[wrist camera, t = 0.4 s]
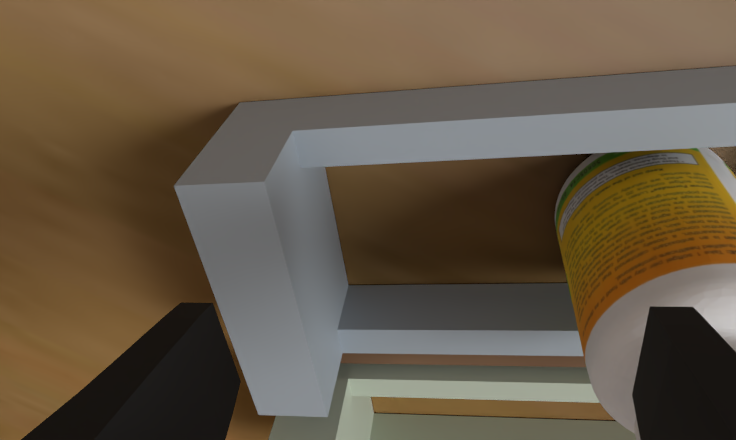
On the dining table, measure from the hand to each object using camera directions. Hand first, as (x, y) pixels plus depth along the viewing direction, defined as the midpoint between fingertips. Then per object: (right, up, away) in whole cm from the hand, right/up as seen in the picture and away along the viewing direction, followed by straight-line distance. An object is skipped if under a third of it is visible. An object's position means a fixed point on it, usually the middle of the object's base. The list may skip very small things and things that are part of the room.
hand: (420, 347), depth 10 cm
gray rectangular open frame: (+5, +3, +9) cm, 11 cm away
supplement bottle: (+8, +3, +9) cm, 12 cm away
